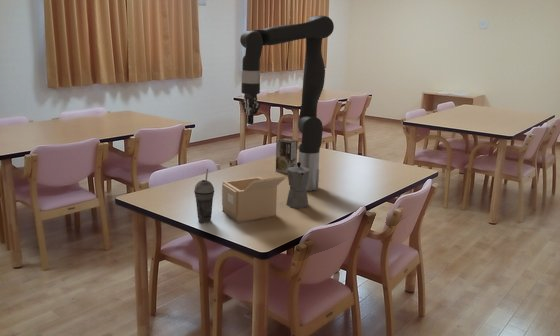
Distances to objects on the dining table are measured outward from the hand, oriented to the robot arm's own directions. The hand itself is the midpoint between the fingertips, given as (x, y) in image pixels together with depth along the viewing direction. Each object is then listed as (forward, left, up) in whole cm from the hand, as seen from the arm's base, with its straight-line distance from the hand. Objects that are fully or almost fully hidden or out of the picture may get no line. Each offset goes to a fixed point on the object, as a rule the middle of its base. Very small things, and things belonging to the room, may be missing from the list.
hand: (250, 123), depth 210 cm
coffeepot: (-20, +10, -31) cm, 38 cm away
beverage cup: (+15, +32, -31) cm, 47 cm away
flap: (-5, +30, -19) cm, 35 cm away
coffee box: (-17, -40, -31) cm, 53 cm away
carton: (-1, +23, -31) cm, 39 cm away
